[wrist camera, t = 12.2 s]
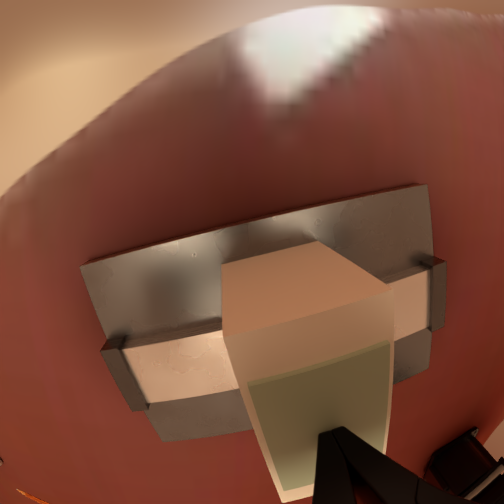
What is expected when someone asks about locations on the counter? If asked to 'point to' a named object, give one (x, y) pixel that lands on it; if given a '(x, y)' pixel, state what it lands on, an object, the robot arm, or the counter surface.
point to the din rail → (210, 302)
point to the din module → (308, 354)
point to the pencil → (33, 497)
